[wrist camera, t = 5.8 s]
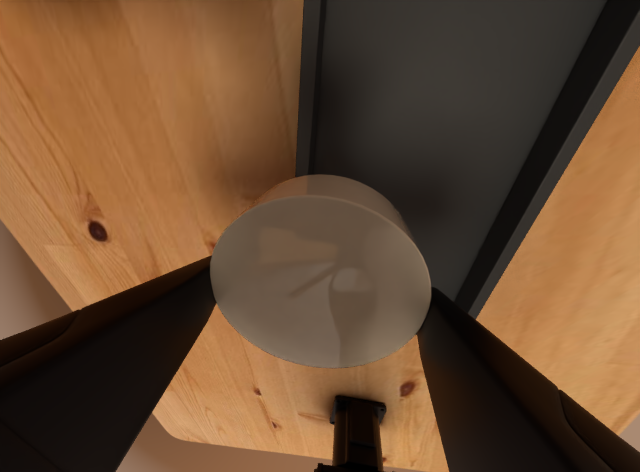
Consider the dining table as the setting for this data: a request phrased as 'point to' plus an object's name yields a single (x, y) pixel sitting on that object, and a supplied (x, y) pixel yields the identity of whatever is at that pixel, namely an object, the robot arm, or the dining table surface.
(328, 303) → the beige disc
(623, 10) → the tray
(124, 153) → the dining table surface
